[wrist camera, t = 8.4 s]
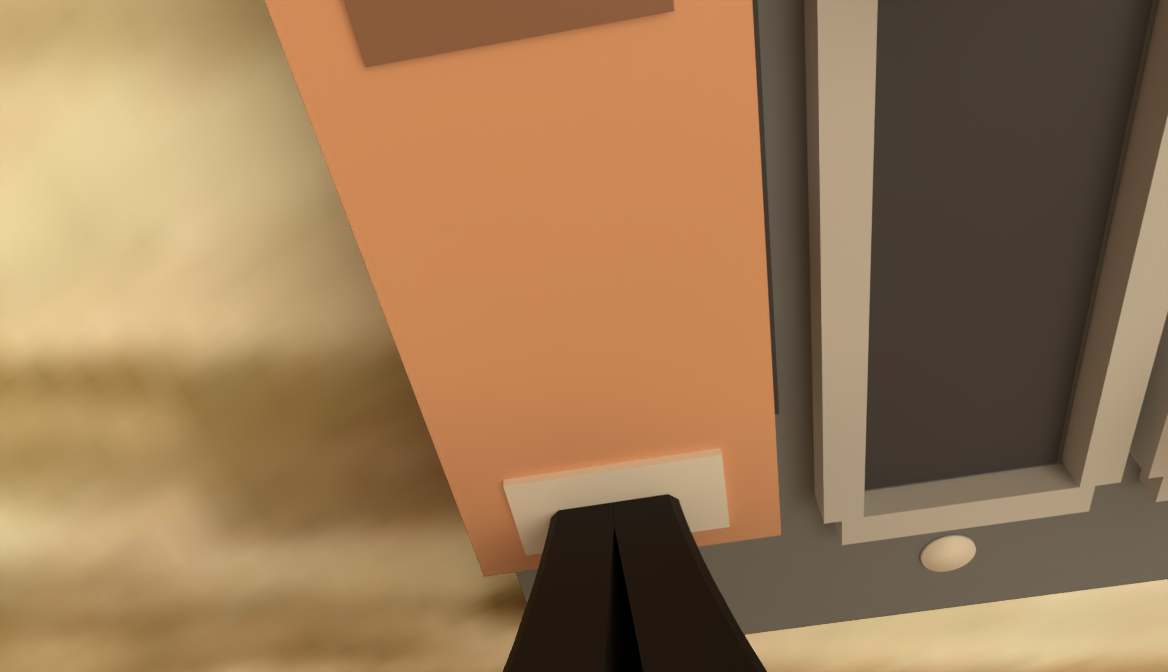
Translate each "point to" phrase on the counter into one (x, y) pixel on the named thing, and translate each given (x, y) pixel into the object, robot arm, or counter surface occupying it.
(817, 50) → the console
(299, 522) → the counter surface
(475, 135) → the rocker
